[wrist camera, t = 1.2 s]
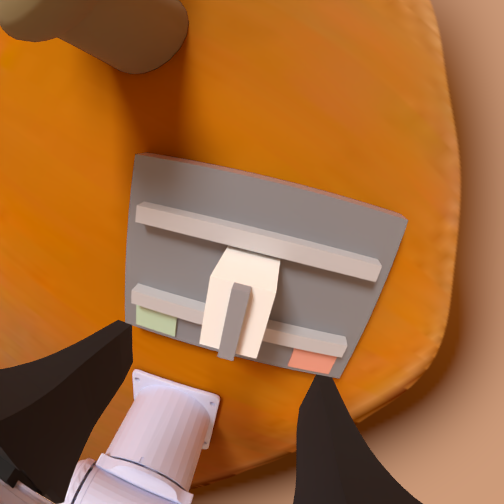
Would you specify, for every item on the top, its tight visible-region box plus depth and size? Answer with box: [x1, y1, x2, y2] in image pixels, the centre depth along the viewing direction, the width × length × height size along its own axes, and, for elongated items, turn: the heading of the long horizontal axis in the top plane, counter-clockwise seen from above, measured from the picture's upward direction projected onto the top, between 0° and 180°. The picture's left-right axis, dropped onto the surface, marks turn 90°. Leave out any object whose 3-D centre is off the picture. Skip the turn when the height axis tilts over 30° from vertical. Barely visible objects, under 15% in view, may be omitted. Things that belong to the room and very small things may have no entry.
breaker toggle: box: [199, 245, 280, 361], centre depth 16 cm, size 4×3×5 cm
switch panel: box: [125, 152, 408, 378], centre depth 19 cm, size 12×16×2 cm
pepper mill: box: [0, 0, 189, 74], centre depth 10 cm, size 6×6×11 cm
